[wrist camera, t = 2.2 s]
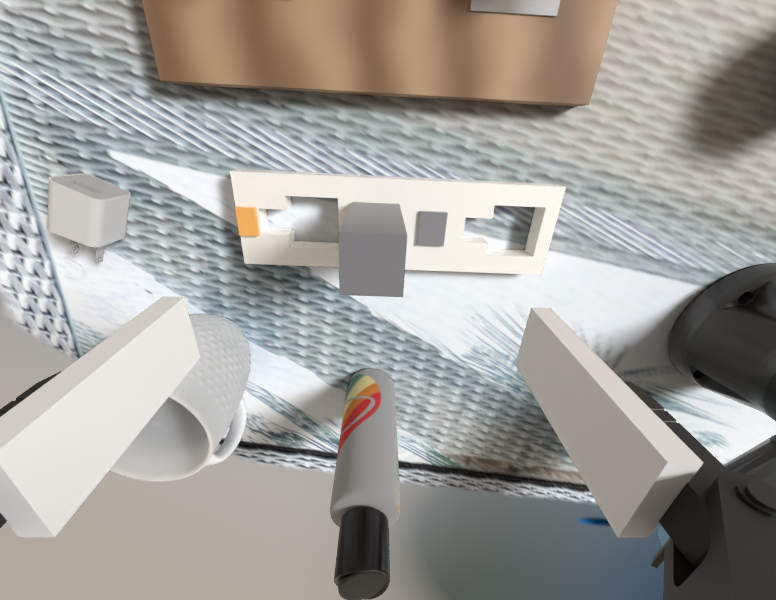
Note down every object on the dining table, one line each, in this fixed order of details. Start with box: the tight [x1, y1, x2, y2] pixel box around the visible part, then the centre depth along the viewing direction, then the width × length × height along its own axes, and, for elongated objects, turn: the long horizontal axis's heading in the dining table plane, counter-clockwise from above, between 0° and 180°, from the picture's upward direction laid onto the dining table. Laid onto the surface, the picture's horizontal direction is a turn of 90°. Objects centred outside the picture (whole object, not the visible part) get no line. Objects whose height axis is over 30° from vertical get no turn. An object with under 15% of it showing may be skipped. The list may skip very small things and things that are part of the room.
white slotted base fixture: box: [230, 169, 566, 297], centre depth 25 cm, size 28×8×12 cm, turn 87°
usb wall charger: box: [47, 174, 131, 264], centre depth 28 cm, size 4×7×4 cm, turn 154°
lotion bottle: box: [330, 368, 400, 600], centre depth 30 cm, size 6×6×20 cm
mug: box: [109, 314, 251, 482], centre depth 31 cm, size 15×11×13 cm
